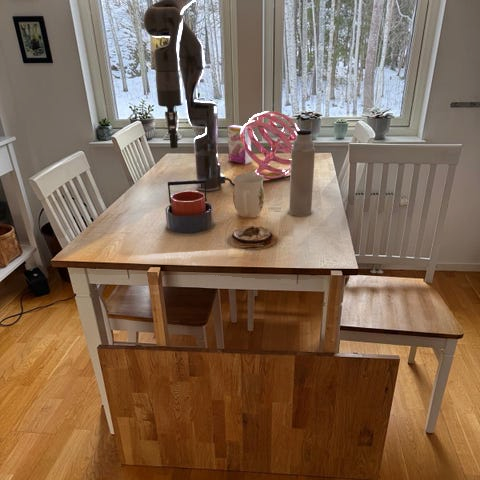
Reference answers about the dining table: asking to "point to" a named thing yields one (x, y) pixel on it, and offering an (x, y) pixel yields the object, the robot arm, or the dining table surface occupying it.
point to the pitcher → (248, 194)
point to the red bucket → (188, 199)
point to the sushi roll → (254, 237)
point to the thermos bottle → (302, 174)
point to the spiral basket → (270, 141)
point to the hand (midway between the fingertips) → (174, 144)
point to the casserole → (189, 221)
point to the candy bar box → (238, 145)
